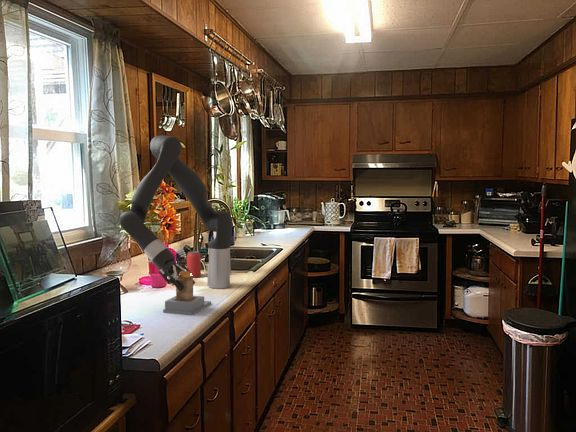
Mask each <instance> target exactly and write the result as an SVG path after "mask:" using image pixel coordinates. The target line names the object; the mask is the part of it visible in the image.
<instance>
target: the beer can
mask: <svg viewBox="0 0 576 432" xmlns="http://www.w3.org/2000/svg"><path fill="white" fill-rule="evenodd" d="M201 258H202V257H201V252H200V251H199V250H191V251H188V252H187V255H186V267H187V268H188V269H189V271H190V272H191V273H192V275H193V277H194V278H193V279H196V278H200V277H201V276H202V269H201V268H202V265H201V261H202V259H201Z"/></svg>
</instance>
